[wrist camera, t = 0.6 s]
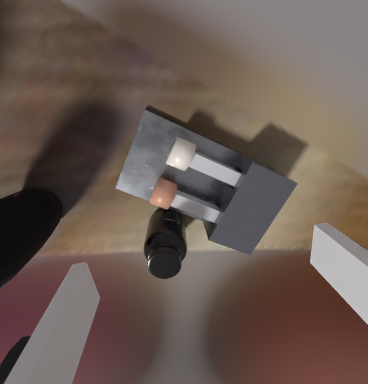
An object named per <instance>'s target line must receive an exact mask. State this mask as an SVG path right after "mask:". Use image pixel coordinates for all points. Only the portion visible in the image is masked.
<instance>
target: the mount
mask: <svg viewBox="0 0 368 384" xmlns="http://www.w3.org/2000/svg"><path fill="white" fill-rule="evenodd" d="M177 136H178V137H180V138H183V139H185V140H187V141H189V142H191V143H194V144H196V149H195V152H198V153H200V154H202V155H204V156H206V157H209V158H211V159H213V160H215V161H218V162H220V163H222V164H224V165H227V166H229V167H231V168H233V169H235V170H238V171H240V172H242V174H241V176H240V178H239V180H238V181H237V183H236V185H235V186H232V185H230V184H228V183H225V182H223V181H221V180H218V179H216V178H214V177H211V176H209V175H207V174H204V173H202V172H200V171H197V170H195V169H193V168H190V167H188V168H187V169H186V171H182V170H180V169H178V168H175V167H173V166H171V165H168V164H166V161H167V158H168V155H169V152H170V150H171V148H172V145H173V143H174V141H175V139H176V137H177ZM159 177H160V178H162V179H165V180H167V181H170V182H172V183H175V184H177V189H176V190H179V191H181V192H184V193H186V194H189V195H191V196H194V197H196V198H199V199H201V200H204V201H206V202H209V203H211V204H214V205H216V206H219V207H220V209H221V212H220V213H219V215H218V217H217V219H216V221H215V222H211V221H208V220H206V219H203V218H201V217H198V216H195V215H193V214H190V213H188V212H185V211H182V210H180V209H177V208H174V207H172V206H170V207H169V209H172V210H174V211H177V212H180V213H182V214H185V215H188V216H190V217H193V218H195V219H198V220H201V221H203V223H204V226H205V230H206V233H207V236H208V240H210V241H213V242H215V243H218V244H221V245H224V246H226V247H229V248H232V249H235V250H237V251H240V252H243V253H246V254H248V255H251V253H252V252H253V250H254V249H255V247H256V246H257V244H258V243H259V241H260V240H261V238H262V237H263V235H264V234H265V232H266V231H267V229H268V228H269V226H270V225H271V223H272V222H273V220H274V219H275V217H276V216H277V214H278V212H279V211H280V209H281V208H282V206H283V205H284V203H285V202H286V200H287V199H288V197H289V196H290V194H291V193H292V191H293V190H294V188H295V187H296V185H297V184H298V183H296V182H294V181H293V180H291V179H289V178H288V177H286V176H284V175H282V174H281V173H279V172H277V171H275V170H273V169H271V168H269V167H267V166H265V165H263V164H261V163H258V162H256V161H254V160H252V159H250V158H248V157H246V156H243V155H241V154H239V153H237V152H235V151H233V150H231V149H229V148H226V147H224V146H222V145H220V144H218V143H216V142H214V141H211V140H209V139H207V138H205V137H203V136H201V135H199V134H197V133H194V132H192V131H190V130H188V129H186V128H184V127H182V126H179V125H177V124H175V123H173V122H171V121H169V120H167V119H165V118H162V117H160V116H158V115H156V114H154V113H152V112H150V111H147V110H145V109H144V112H143V115H142V118H141V120H140V123H139V126H138V129H137V131H136V134H135V137H134V139H133V142H132V145H131V148H130V150H129V153H128V156H127V159H126V161H125V164H124V167H123V170H122V172H121V175H120V178H119V180H118V183H117V186H116V189H119V190H122V191H124V192H127V193H129V194H132V195H135V196H137V197H140V198H143V199H145V200H148V201H150V198H151V195H152V192H153V190H154V187H155V185H156V183H157V181H158V179H159Z"/></svg>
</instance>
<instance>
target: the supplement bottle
mask: <svg viewBox="0 0 368 384" xmlns="http://www.w3.org/2000/svg"><path fill="white" fill-rule="evenodd" d="M186 253H187V241H186V231H185V223H184V219H183V217H182V216H181V215H180V214H179V213H178V212H176V211H174V210H171V209H162V210H159V211H157V212H156V213H154V214H153V215H152V217H151V219H150V221H149V225H148V230H147V234H146V239H145V244H144V254H145V256H146V258H147V260H148V268H149V271H150V273H152V275H154V276H155V277H157V278H160V279H161V278H162V279H168V278H171V277H173V276H175V275H176V274H178V272H179V271H180V269H181V262H182V261H183V259H184V258H185V256H186Z"/></svg>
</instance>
